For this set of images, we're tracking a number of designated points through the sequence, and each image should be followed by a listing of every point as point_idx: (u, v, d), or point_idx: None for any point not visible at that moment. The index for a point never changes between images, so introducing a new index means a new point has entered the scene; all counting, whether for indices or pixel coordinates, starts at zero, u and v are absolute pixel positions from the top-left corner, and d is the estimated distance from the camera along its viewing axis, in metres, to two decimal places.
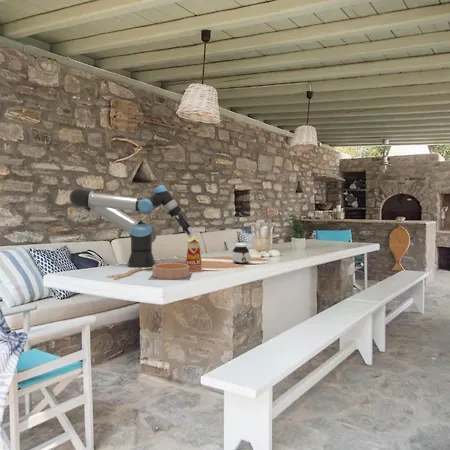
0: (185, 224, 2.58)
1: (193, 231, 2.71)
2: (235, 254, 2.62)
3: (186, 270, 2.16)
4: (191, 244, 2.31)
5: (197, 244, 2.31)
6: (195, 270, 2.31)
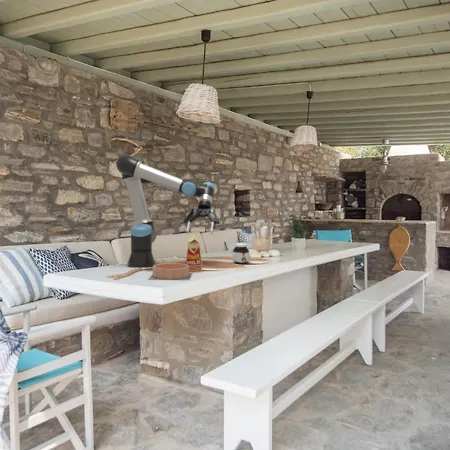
0: None
1: None
2: (235, 254, 2.62)
3: (186, 270, 2.16)
4: (191, 244, 2.31)
5: (197, 244, 2.31)
6: (195, 270, 2.31)
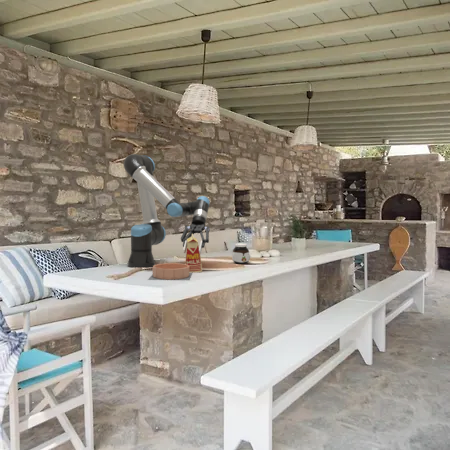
0: None
1: (186, 248, 2.34)
2: (235, 254, 2.62)
3: (186, 270, 2.16)
4: (190, 244, 2.31)
5: (196, 244, 2.31)
6: (195, 270, 2.31)
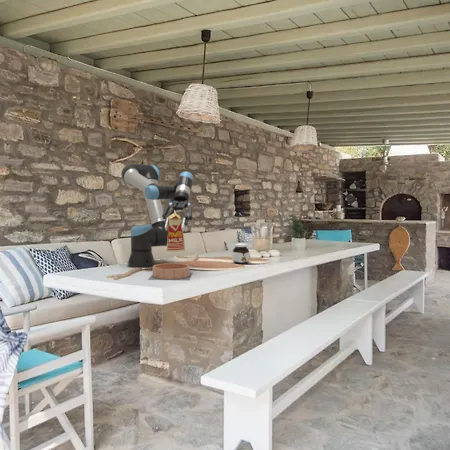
0: None
1: (168, 226, 2.20)
2: (235, 254, 2.62)
3: (186, 270, 2.16)
4: (172, 221, 2.17)
5: (179, 221, 2.17)
6: (177, 248, 2.17)
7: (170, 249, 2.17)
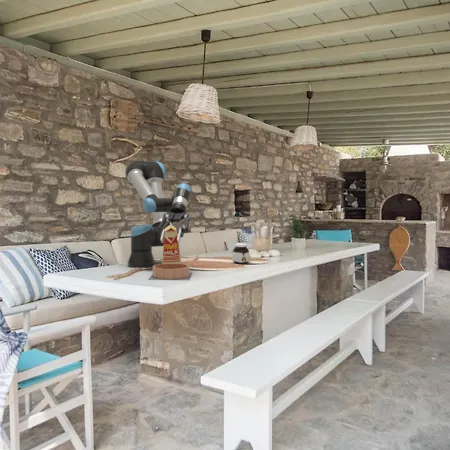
0: None
1: None
2: (235, 254, 2.62)
3: (186, 270, 2.16)
4: (168, 233, 2.15)
5: (174, 233, 2.15)
6: (173, 261, 2.15)
7: (166, 262, 2.15)
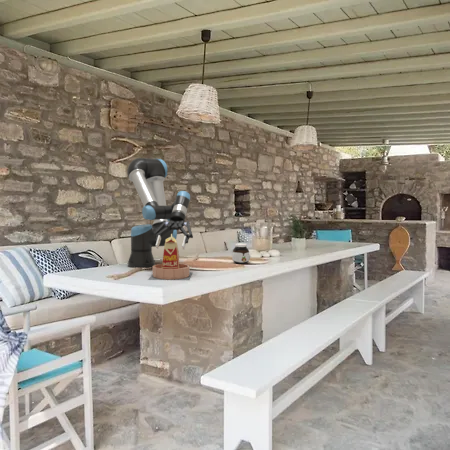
0: None
1: (159, 244, 2.21)
2: (235, 254, 2.62)
3: (186, 270, 2.16)
4: (168, 244, 2.16)
5: (174, 244, 2.16)
6: None
7: None
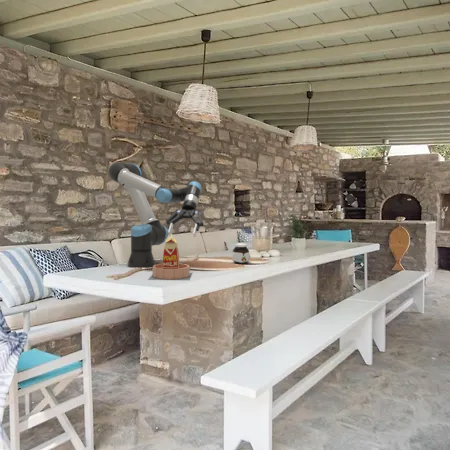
0: None
1: (171, 231, 2.35)
2: (235, 254, 2.62)
3: (186, 270, 2.16)
4: (168, 244, 2.16)
5: (174, 244, 2.16)
6: None
7: None
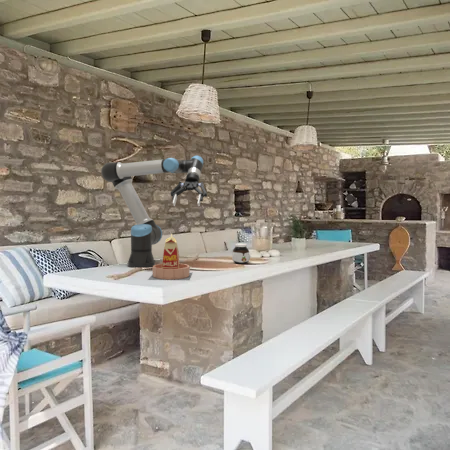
0: None
1: None
2: (235, 254, 2.62)
3: (186, 270, 2.16)
4: (168, 244, 2.16)
5: (174, 244, 2.16)
6: None
7: None
